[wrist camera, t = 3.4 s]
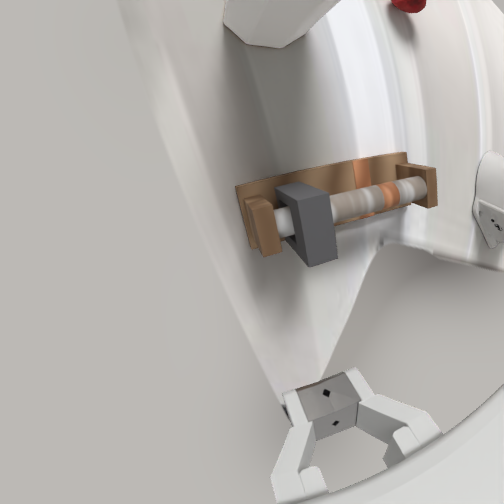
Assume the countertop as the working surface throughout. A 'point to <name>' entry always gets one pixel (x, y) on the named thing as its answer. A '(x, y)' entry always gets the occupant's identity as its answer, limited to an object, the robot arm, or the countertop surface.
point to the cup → (273, 19)
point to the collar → (309, 222)
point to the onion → (410, 5)
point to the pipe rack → (337, 194)
